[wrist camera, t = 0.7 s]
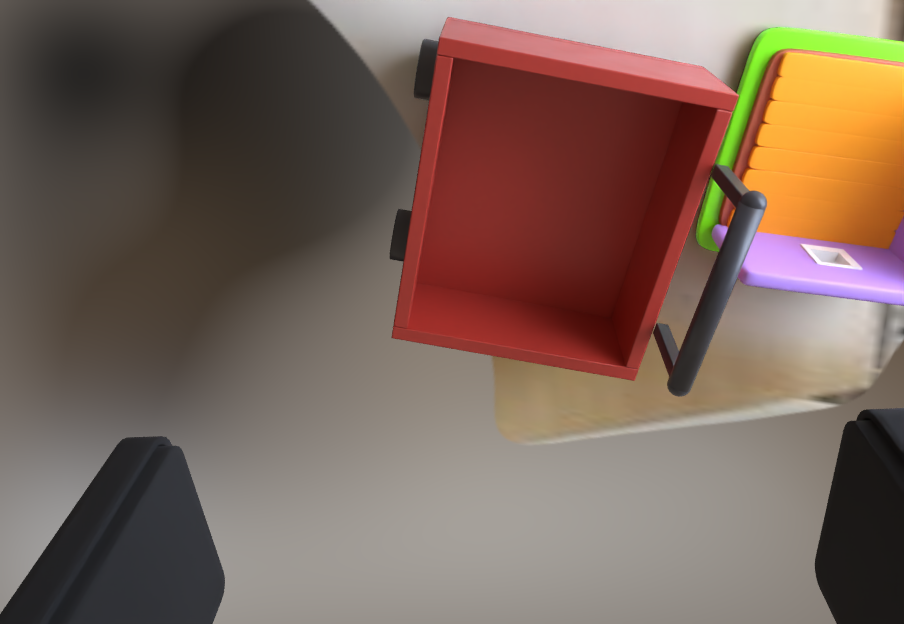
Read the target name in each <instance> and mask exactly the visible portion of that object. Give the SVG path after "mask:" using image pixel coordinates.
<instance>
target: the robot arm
mask: <svg viewBox="0 0 904 624" xmlns="http://www.w3.org/2000/svg"><path fill="white" fill-rule="evenodd" d="M815 572H816V578H817V581H818V585H819V587H820V590H821V592H822V594H823V596H824V598H825V600H826V602H827V604H828V606H829V608H830V611H831V613H832V615H833V617H834V619H835V621H836V623H837V624H904V408H895V409H870V410H863V411H861V412H860V414H859V415H858V417H857V420H856V421H849V422H847V424H846V425H845V427H844V430H843V435H842V440H841V444H840V449H839V453H838V458H837V463H836V467H835V472H834V476H833V481H832V485H831V490H830V494H829V499H828V503H827V509H826V513H825V517H824V522H823V526H822V531H821V536H820V540H819V544H818V549H817V554H816V559H815ZM224 586H225V578H224V572H223V569H222V566H221V563H220V560H219V557H218V554H217V551H216V548H215V545H214V542H213V539H212V536H211V533H210V530H209V527H208V525H207V522H206V519H205V516H204V513H203V510H202V507H201V504H200V501H199V498H198V495H197V492H196V489H195V486H194V483H193V480H192V477H191V474H190V471H189V468H188V465H187V462H186V459H185V457H184V454H183V451H182V450H181V448H180V447H178V446H172V444H171V442H170V441H169V440H168V439H167V438H166V437H162V436H160V437H134V438H133V437H132V438H125V439H122V440H121V441H120V443H119V444H118V445H117V446H116V448H115V449H114V451H113V452H112V453H111V455H110V456H109V458H108V459H107V461H106V462H105V464H104V465H103V467H102V468H101V469H100V471H99V472H98V474H97V475H96V477H95V478H94V479H93V481H92V482H91V484H90V485H89V487H88V488H87V489H86V491H85V492H84V494H83V495H82V497H81V498H80V500H79V501H78V502H77V504H76V505H75V507H74V508H73V510H72V511H71V513H70V514H69V516H68V517H67V518H66V520H65V521H64V523H63V524H62V526H61V527H60V528H59V530H58V531H57V533H56V534H55V536H54V537H53V539H52V540H51V542H50V543H49V544H48V546H47V547H46V549H45V550H44V552H43V553H42V555H41V556H40V558H39V559H38V560H37V562H36V563H35V565H34V566H33V568H32V569H31V570H30V572H29V574H28V575H27V576H26V578H25V579H24V581H23V582H22V584H21V585H20V586H19V588H18V589H17V591H16V592H15V594H14V595H13V597H12V598H11V599H10V601H9V602H8V604H7V605H6V607H5V608H4V609H3V611H2V612H1V614H0V624H212V623H213V621H214V618H215V616H216V613H217V611H218V608H219V606H220V603H221V600H222V597H223V593H224Z"/></svg>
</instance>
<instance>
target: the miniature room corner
mask: <svg viewBox="0 0 904 624" xmlns="http://www.w3.org/2000/svg"><path fill="white" fill-rule="evenodd" d="M737 94H738V95H739V97H738V100H737V103H736V105H735V108H734V111H732V116H731V118H730V121H729V124H728V127H727V129H726V132H725V135H724V138H723V140H722V143H721V146H720V148H719V151H718V154H717V158H716V161H715V164H719V165H725V166H728V167H729V168H730V169H731V170H732V171H733V173H734V174H735V175H736V176H737V177H738V178H739V179H740V181H741V182H742V183H743V184H744V185H745V186H746V187H747V189H748V190H749V191H759V192H761V193H762V194H763V195H764V196H765V197H766V199H767V207H766V210H765V212H764V215H763V217H762V220H761V222H760V224H759V227H758V229H757V232H756V234H755V236H754V239H753V241H752V244H751V246H750V248H749V251H748V253H747V256H746V258H745V260H744V263H743V265H742V268H741V270H740V272H739V275H738V278H739V280H740V281H741V282H742V283H743V284H745V285H749V286H755V287H762V288H770V289H778V290H785V291H793V292H801V293H809V294H816V295H824V296H832V297H839V298H847V299H855V300H862V301H870V302H878V303H886V304H893V305H901V306H904V42H900V41H893V40H886V39H878V38H871V37H863V36H856V35H848V34H840V33H832V32H824V31H815V30H807V29H797V28H782V27H776V28H769V29H767V30H765V31H763V32H762V33H761V34H760V35H759V36H758V37H757V39H756V40H755V42H754V44H753V46H752V49H751V51H750V54H749V57H748V60H747V63H746V66H745V69H744V72H743V75H742V78H741V81H740V84H739V87H738V90H737ZM715 164H714V166H715ZM713 169H714V167H713ZM735 210H736V208H735V206H734V205H733V204H732V203H731V201H730V200H729V199H728V198H727V196H726V195H725V194H724V192H723V191H722V190H721V189H720V187H719V186H718V185H717V184H716V182H715V181H714V180H713V178H712V177H710V181H709V184H708V188H707V191H706V194H705V198H704V201H703V205H702V208H701V212H700V215H699V219H698V223H697V228H696V239H697V242H698V244H700V245H701V246H702V247H703V248H705V249H708V250H711V251H716V252H719V250H720V248H721V245H722V242H723V240H724V237H725V235H726V232H727V230H728V227H729V225H730V222H731V220H732V217H733V215H734V212H735Z"/></svg>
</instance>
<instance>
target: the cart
mask: <svg viewBox="0 0 904 624" xmlns="http://www.w3.org/2000/svg"><path fill="white" fill-rule="evenodd" d="M414 97H415V98H418V99H424V100H429V105H428V111H427V118H426V124H425V130H424V137H423V143H422V149H421V156H420V162H419V169H418V174H417V181H416V187H415V194H414V200H413V206H412V211H407V210H401V209H399V210H398V211H397V216H396V220H395V225H394V230H393V236H392V242H391V249H390V259H393V260H398V261H404V263H403V269H402V275H401V281H400V288H399V294H398V300H397V307H396V314H395V319H394V326H393V332H392V338H395V339H401V340H406V341H412V342H417V343H423V344H429V345H434V346H440V347H446V348H451V349H457V350H463V351H469V352H474V353H480V354H486V355H491V356H497V357H502V358H508V359H514V360H519V361H525V362H531V363H537V364H542V365H548V366H554V367H559V368H565V369H571V370H576V371H582V372H588V373H593V374H599V375H605V376H610V377H616V378H622V379H627V380H633V381H634V380H635V378H636V375H637V373H638V369H639V367H640V364H641V361H642V358H643V356H644V353H645V350H646V348H647V345H648V342H649V339H650V337H651V334H652V331H653V328H654V326H655V323H656V320H657V318H658V315H659V312H660V309H661V307H662V304H663V301H664V298H665V296H666V293H667V290H668V288H669V285H670V282H671V279H672V277H673V274H674V271H675V268H676V266H677V263H678V260H679V258H680V255H681V252H682V249H683V247H684V244H685V241H686V238H687V236H688V233H689V230H690V228H691V225H692V222H693V219H694V217H695V214H696V211H697V208H698V206H699V203H700V200H701V198H702V195H703V192H704V189H705V187H706V184H707V181H708V178H709V176H710V173H711V170H712V168H713V165H714V162H715V159H716V157H717V154H718V151H719V148H720V146H721V143H722V140H723V138H724V135H725V132H726V129H727V127H728V124H729V121H730V118H731V116H732V111H734V108H735V105H736V103H737V100H738V97H739V95H738V94H737V93H736V92H734V91H733V90H732V89H731V88H729V87H728V86H727V85H725V84H724V83H723V82H722V81H720V80H719V79H718V78H717V77H715V76H714V75H713V74H712V73H710V72H709V71H708V70H706V69H705V68H704V67H702V66H697V65H691V64H686V63H681V62H676V61H671V60H666V59H661V58H656V57H651V56H645V55H640V54H635V53H630V52H625V51H620V50H615V49H610V48H605V47H600V46H594V45H589V44H584V43H579V42H574V41H569V40H564V39H559V38H554V37H548V36H543V35H538V34H533V33H528V32H523V31H518V30H513V29H508V28H502V27H497V26H492V25H487V24H482V23H477V22H472V21H467V20H462V19H456V18H451V17H448V18H447V20H446V22H445V24H444V27H443V30H442V32H441V35H440V37H439V42H438V41H433V40H428V39H424V40H423V42H422V45H421V50H420V55H419V60H418V66H417V72H416V79H415V87H414ZM711 177H712V178H713V180H714V181H715V182H716V184H717V185H718V186H719V187H720V189H721V190H722V191H723V192H724V194H725V195H726V196H727V198H728V199H729V200H730V201H731V203H732V204H733V205H734V206H735V208H736V210H735V212H734V215H733V217H732V220H731V222H730V225H729V227H728V230H727V232H726V235H725V237H724V240H723V242H722V245H721V248H720V250H719V253H718V255H717V258H716V260H715V263H714V265H713V268H712V270H711V273H710V275H709V278H708V280H707V283H706V286H705V288H704V291H703V293H702V296H701V298H700V301H699V303H698V306H697V308H696V311H695V313H694V316H693V318H692V321H691V324H690V326H689V329H688V331H687V334H686V336H685V339H684V341H683V344H682V346H681V349H680V351H679V350H678V348H677V345H676V343H675V340H674V338H673V336H672V333H671V331H670V328H669V326H668V325H665V324H660V323H657V324H656V326H655V329H654V332H653V334H654V336H655V339H656V342H657V345H658V347H659V350H660V353H661V355H662V358H663V361H664V364H665V366H666V369H667V372H668V374H669V379H668V383H667V386H668V389H669V391H670V392H671V393H672V394H673V395H675V396H684V395H686V394H688V393H689V392H690V390H691V388H692V385H693V383H694V380H695V378H696V376H697V373H698V371H699V368H700V366H701V364H702V361H703V359H704V356H705V354H706V352H707V349H708V347H709V344H710V342H711V340H712V337H713V335H714V332H715V330H716V328H717V325H718V323H719V320H720V318H721V316H722V313H723V311H724V308H725V306H726V304H727V301H728V299H729V296H730V294H731V292H732V289H733V287H734V284H735V282H736V280H737V277H738V275H739V272H740V270H741V268H742V265H743V263H744V260H745V258H746V256H747V253H748V251H749V248H750V246H751V244H752V241H753V239H754V236H755V234H756V232H757V229H758V227H759V224H760V222H761V220H762V217H763V215H764V212H765V210H766V207H767V199H766V197H765V196H764V195H763V194H762V193H761V192H759V191H749V190H748V189H747V187H746V186H745V185H744V184H743V183H742V182H741V181H740V179H739V178H738V177H737V176H736V175H735V174H734V173H733V171H732V170H731V169H730V168H729V167H728V166H725V165H719V164H715V166H714V169H713V171H712V174H711Z"/></svg>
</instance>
